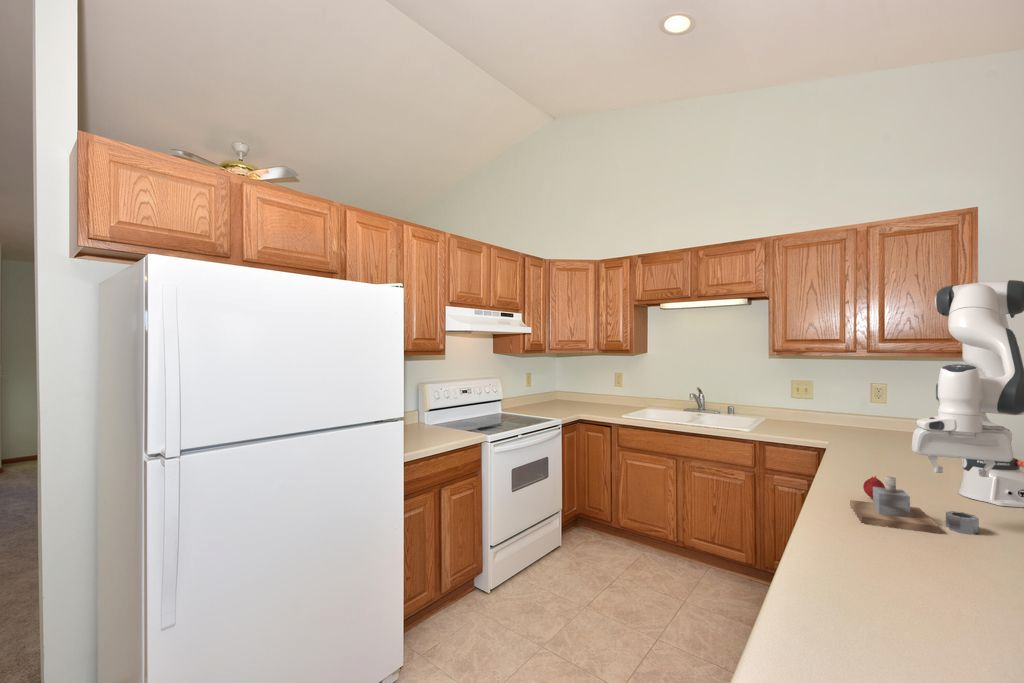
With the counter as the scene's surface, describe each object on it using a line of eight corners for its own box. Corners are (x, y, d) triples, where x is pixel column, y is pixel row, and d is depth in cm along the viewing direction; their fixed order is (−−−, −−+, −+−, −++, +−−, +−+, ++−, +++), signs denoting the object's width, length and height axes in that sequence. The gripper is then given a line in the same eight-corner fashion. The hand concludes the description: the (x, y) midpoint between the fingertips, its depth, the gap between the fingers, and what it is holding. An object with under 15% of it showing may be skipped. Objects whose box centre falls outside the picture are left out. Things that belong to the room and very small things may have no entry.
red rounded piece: (889, 503, 149) (889, 478, 149) (869, 502, 150) (869, 477, 151) (879, 497, 155) (879, 473, 155) (859, 496, 156) (859, 472, 156)
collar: (972, 527, 129) (971, 513, 129) (982, 535, 123) (981, 520, 123) (943, 524, 131) (943, 510, 131) (952, 531, 126) (951, 517, 126)
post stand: (919, 514, 139) (918, 474, 139) (939, 533, 125) (938, 488, 125) (850, 506, 147) (849, 468, 147) (861, 523, 132) (860, 481, 132)
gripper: (1005, 425, 126) (1006, 476, 126) (909, 419, 135) (910, 467, 135) (1018, 428, 120) (1019, 482, 120) (916, 422, 129) (917, 472, 129)
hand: (960, 474), depth 127 cm, fingers open, 8 cm apart
